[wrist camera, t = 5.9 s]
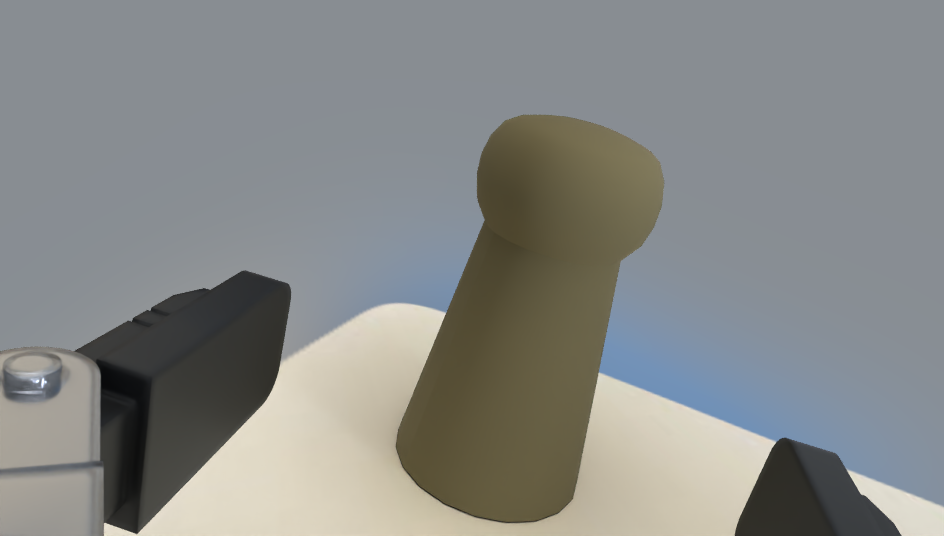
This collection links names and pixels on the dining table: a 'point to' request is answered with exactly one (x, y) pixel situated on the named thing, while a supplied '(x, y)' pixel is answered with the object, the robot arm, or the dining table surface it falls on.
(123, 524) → the robot arm
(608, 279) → the game pawn
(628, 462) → the dining table surface
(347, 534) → the dining table surface
